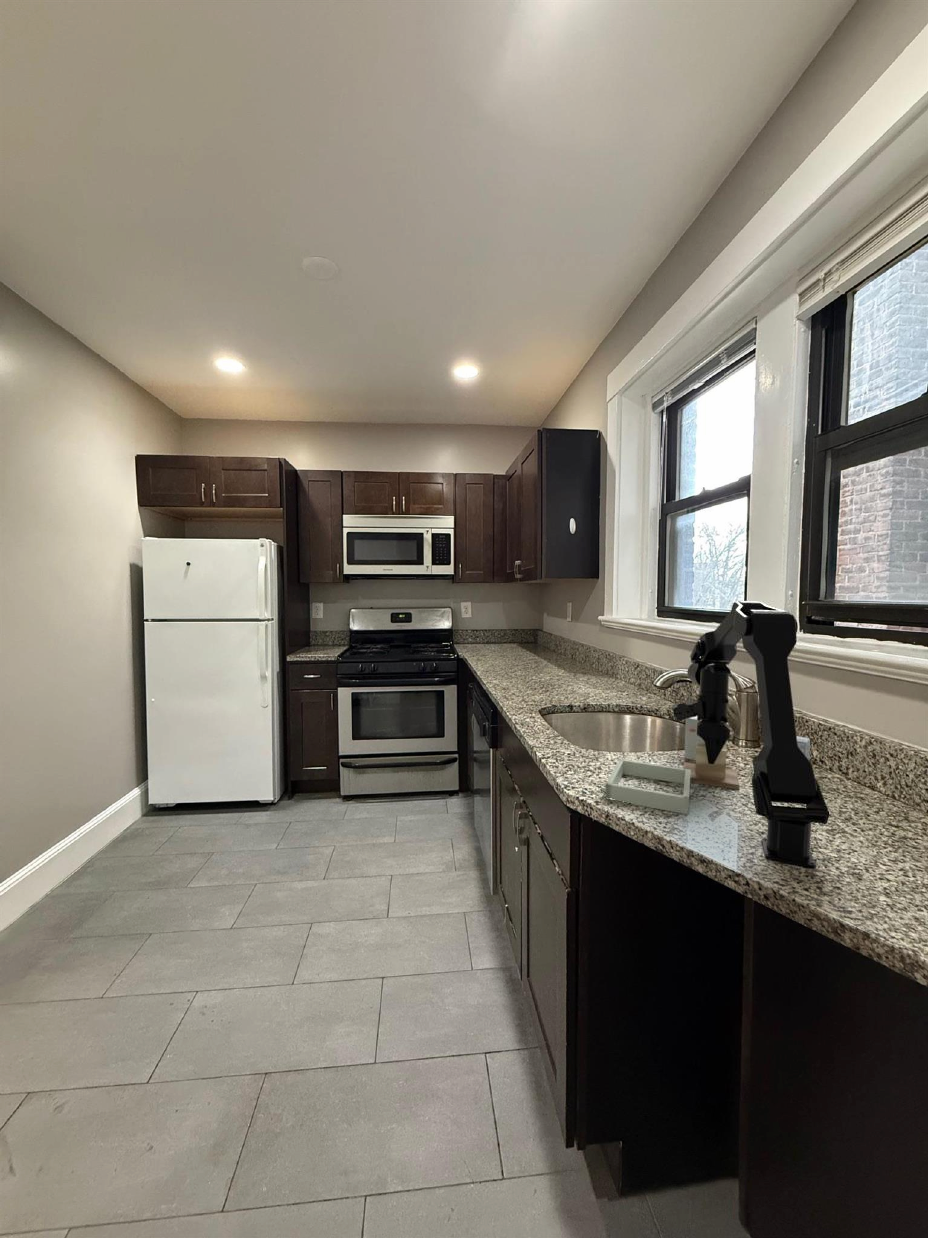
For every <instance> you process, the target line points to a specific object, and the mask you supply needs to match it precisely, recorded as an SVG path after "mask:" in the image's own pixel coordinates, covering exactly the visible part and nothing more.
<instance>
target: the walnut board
mask: <svg viewBox="0 0 928 1238" xmlns="http://www.w3.org/2000/svg"><path fill="white" fill-rule="evenodd" d="M683 762H684V763H683V769H689V770H691V775H690V783H695V784H701V785H702V784H703V785H707V786H708V785H709V786H713V787H714V786H715V787H719V788H724V789H725V788H726V789H732V790H740V780H739V776H738V772H737V769H735V768H727V767H726V774H725V778H720V777H713V776H707V775H700V774H695V768H696V763H694V762H693V763H692V762H686V761H683Z"/></svg>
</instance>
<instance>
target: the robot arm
mask: <svg viewBox="0 0 928 1238" xmlns="http://www.w3.org/2000/svg"><path fill="white" fill-rule="evenodd" d="M798 626H799V625H798V621H797V619H796V617H795V615H794V614H792V613H790V612H789V610H788V611H787V610H782V609H780V608H776V607H772V606H769V605H768V604H766V603H764V602H761V601H758V600H753V601H752V600H738V601H734V602H733V603H732V605H731V610H730V611H729V613H728V614H727V615H726V616H725V617H724V618H723V620H722V621H721V622H720V624H718V626H717V627H716V629H714V630H712V631H707V632H705V633H703V634H702V635H700V637H699V638H698V640H697V641H696V642H695V645H694V647H693V649H692V651H691V653H690V655H689V657H690V662H691V664H689V667H688V669H687V677H688V679H689V680H690V681H691V682H692V683H694V684H696V685H699V694H698V695H697V699H693V700H689V701H683V702H678V703H675V704H672V706H671V710H672V712H673V713H672V714H673V715H674V718H675V721H676V722H681V721H683V720H686V719H687V718H692V717H696V716H697V720H699V721H700V720H701V721H700V722H698V723H697V735H698V736H699V737H701V738H702V739H703V740H704V742H705V747H706V753H707V758H708V763H709V764H714V763H715V761H716V759H717V757H718V755H719V754H720V752H721V750H722V748H723V746H726V745H725V744H726V743H727V741H728V740H730V739H731V736H730V735H731V729H730V726H729V725H728V724H727V723H728V720H729V719H728V706H729V705H728V704H729V680H730V679H729V678H730V675H731V673H732V670H731V669H730V668H729V667H728V665H730V664H731V662H732V661H733V659H734V658H735V657H736V655H737V653H738V649H737V648H738V647H737V644H738V643H740V641H741V640H742V647H743V649H744V650H745V651H746V652H747V654H748V655H749V656H750V657H751V659H752V660H753V661H754V665H755V672H756V673H755V674H756V675H755V676H756V685H757V693H758V703H759V704H758V706H759V714H760V725H761V734H762V745H763V746H762V747H761V750H760V752H759V753H757V755H755V756H753V758H752V761H751V762H752V765H753V766H752V769H753V774H752V778H751V785H752V796H753V803H754V804H753V805H754V808H755V814H756V815H758V816H761V817H764V818H765V819H766V820H767V829H766V832H767V833H766V838H762V839H761V845H762V848H763V851H764V856H765V858H767V859H769V860H773V861H778V862H782V863H787V864H792V865H798V866H801V867H807V868H812V869H816V868H817V862H815V859H814V857H813V854H812V852H811V838H812V837H811V836H812V824H821V825H827V824H828V821H829V817H830V815H831V814H830V811H829V809H828V806H827V804H826V801H825V798H824V796H823V794H822V793H823V792H822V790H821V787H820V785H819V782H818V780H817V778H816V776H815V772H814V767H813V763H812V762H811V761H810V759H809V760H808V758H807V757H806V756H805V755H804V753H803V752H802V751H801V750H800V748H799V747H798V743H797V736H798V735H797V728H796V720H795V719H796V718H795V711H794V702H793V696H792V694H793V693H792V687H791V678H790V677H791V676H790V669H789V660H788V658H789V656H790V655H791V654H792V652H793V650H794V648H795V646H796V645H797V642H798V641H797V639H798V638H797V637H798V636H797V634H798V628H799V627H798ZM773 803H778V804H794V805H804V806H805V807H801V806H800V807H799V806H789V805H776V804H775V805H773Z"/></svg>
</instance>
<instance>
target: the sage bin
mask: <svg viewBox="0 0 928 1238" xmlns="http://www.w3.org/2000/svg"><path fill="white" fill-rule="evenodd" d="M623 775H629V776H634V777H638V778H639V777H641V778H646V779H652V780H659V781H663V782H664V781H665V782H671V783H677V784H683V791H682V792H683V795H680V794H675V793H669V792H665V791H664V792H663V791H657V790H651V789H646V788H641V787H640V788H639V787H635V786H630V785H629V786H628V785H623V784H619V783H620V781H621V778H622V777H623ZM690 775H691V770H689V769H684V768H681V767H675V766H667V765H662V764H657V763H656V764H655V763H648V762H643V761H642V762H641V761H635V760H627V759H622V758H619V760H618V762H616V765H615V767H614V769H613V771H612V772H611V774H610V775H609V778H608V780H607V782H606V783H605V798H606V797H607V798H612V799H615V800H619V801H624V802H627V803H626V804H629V803H631V804H630V805H636V806H640V807H645V808H651V809H656V810H657V809H658V810H663V811H667V812H672V813H673V812H674V813H677V814H683V815H689V809H690V808H689V806H690V790H691V782H690ZM619 801H618V802H619ZM624 802H623V803H624Z"/></svg>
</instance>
